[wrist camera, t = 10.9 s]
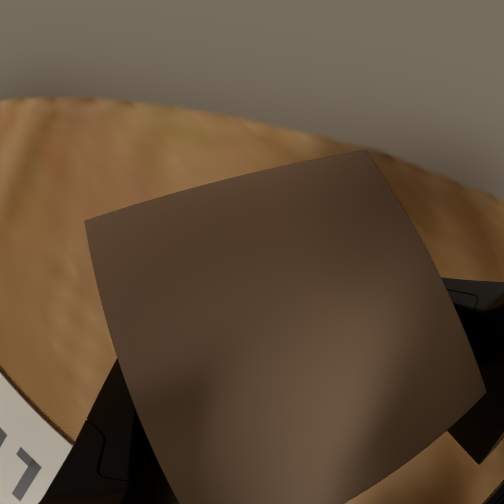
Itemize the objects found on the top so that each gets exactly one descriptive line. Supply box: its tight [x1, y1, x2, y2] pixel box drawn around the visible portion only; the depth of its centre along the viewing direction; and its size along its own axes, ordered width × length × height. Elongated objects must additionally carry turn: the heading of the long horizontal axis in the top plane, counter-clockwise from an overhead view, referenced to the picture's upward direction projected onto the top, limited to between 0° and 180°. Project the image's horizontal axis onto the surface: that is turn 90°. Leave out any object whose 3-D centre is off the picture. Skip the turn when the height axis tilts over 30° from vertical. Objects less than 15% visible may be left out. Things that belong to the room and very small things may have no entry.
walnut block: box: [85, 150, 486, 504], centre depth 10 cm, size 6×6×11 cm
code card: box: [0, 372, 73, 504], centre depth 11 cm, size 9×9×1 cm
